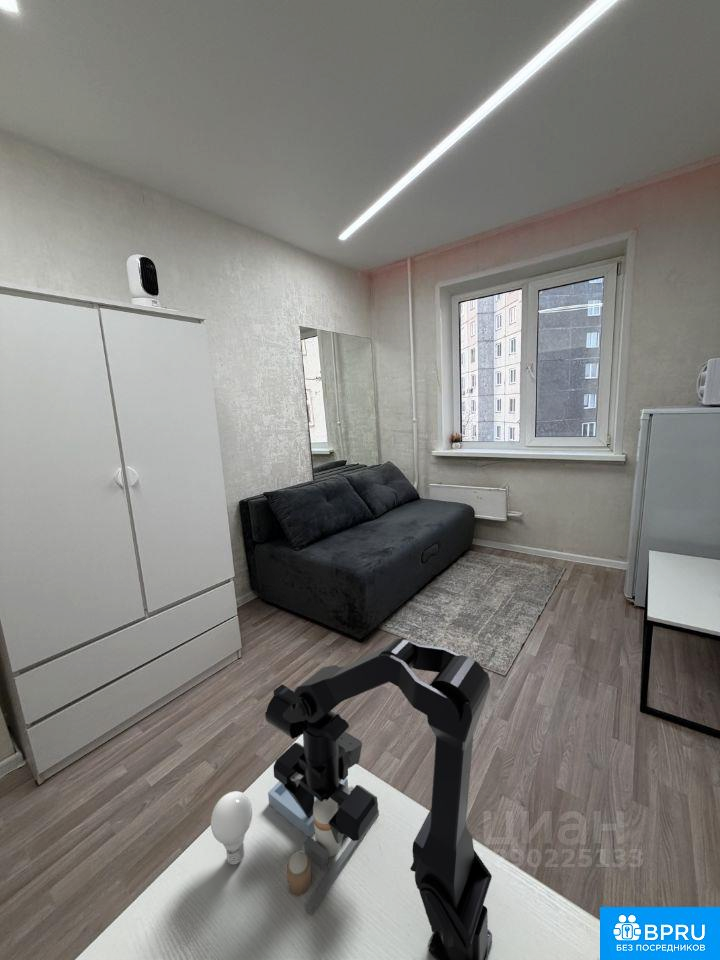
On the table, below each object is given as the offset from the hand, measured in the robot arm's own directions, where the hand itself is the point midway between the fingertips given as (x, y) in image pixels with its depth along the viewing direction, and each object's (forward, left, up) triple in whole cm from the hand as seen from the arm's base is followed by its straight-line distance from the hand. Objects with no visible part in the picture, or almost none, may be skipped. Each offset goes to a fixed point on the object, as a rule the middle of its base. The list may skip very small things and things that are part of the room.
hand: (324, 828), depth 64 cm
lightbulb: (+10, +11, -2) cm, 15 cm away
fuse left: (-1, +7, -2) cm, 7 cm away
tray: (+8, -4, -2) cm, 9 cm away
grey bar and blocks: (-2, 0, -2) cm, 3 cm away
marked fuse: (-1, 0, -2) cm, 2 cm away
